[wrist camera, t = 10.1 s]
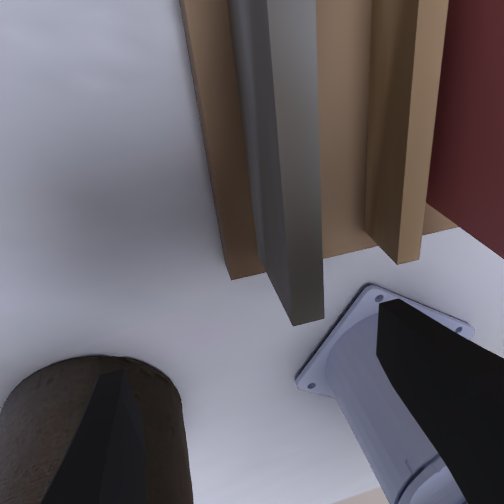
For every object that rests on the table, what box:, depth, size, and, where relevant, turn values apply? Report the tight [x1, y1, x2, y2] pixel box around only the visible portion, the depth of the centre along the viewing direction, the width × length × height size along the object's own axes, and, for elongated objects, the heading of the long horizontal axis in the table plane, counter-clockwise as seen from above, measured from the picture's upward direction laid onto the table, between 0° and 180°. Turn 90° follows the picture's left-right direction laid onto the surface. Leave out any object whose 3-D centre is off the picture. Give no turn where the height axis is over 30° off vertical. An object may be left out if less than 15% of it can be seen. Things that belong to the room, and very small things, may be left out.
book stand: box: [180, 0, 459, 326], centre depth 16 cm, size 18×14×6 cm
